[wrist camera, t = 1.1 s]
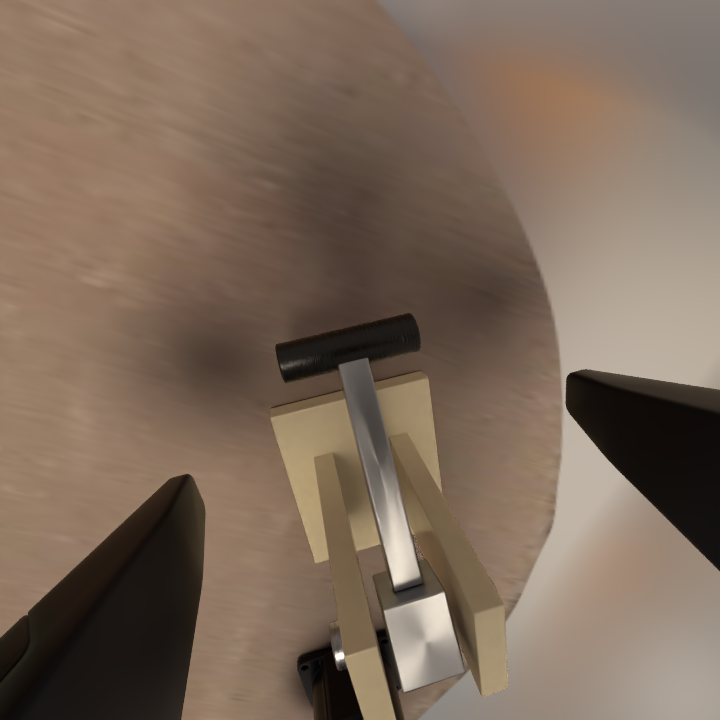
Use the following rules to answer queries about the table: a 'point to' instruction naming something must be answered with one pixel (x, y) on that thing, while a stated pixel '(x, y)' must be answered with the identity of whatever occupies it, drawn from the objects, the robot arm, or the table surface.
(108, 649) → the robot arm
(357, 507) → the bracket
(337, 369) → the lever
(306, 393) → the table surface
